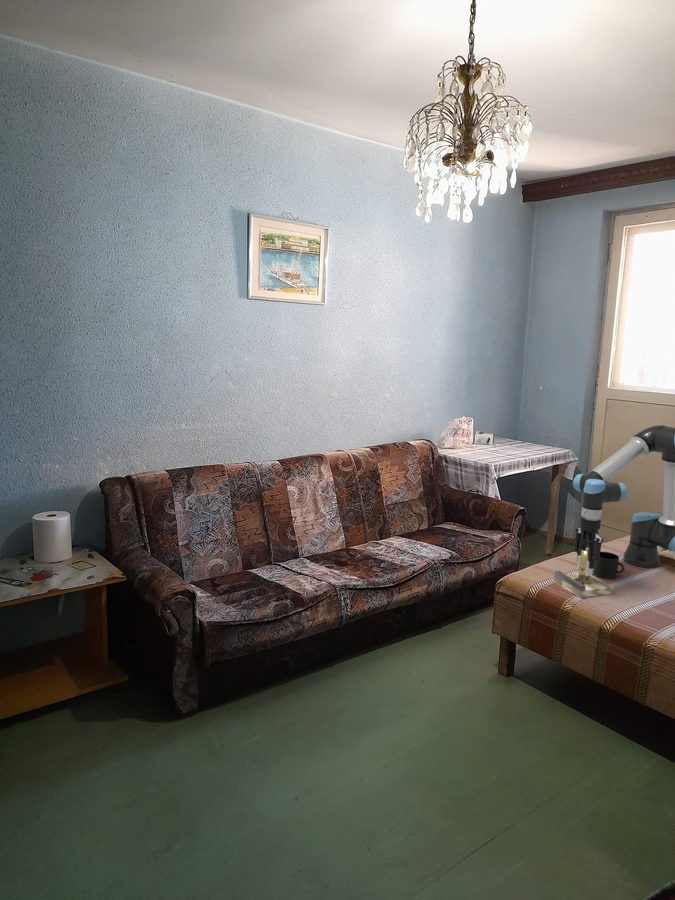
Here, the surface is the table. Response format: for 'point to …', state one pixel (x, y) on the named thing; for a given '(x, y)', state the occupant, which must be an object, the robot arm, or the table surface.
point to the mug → (607, 566)
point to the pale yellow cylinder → (583, 565)
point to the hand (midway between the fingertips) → (584, 572)
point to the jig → (576, 585)
